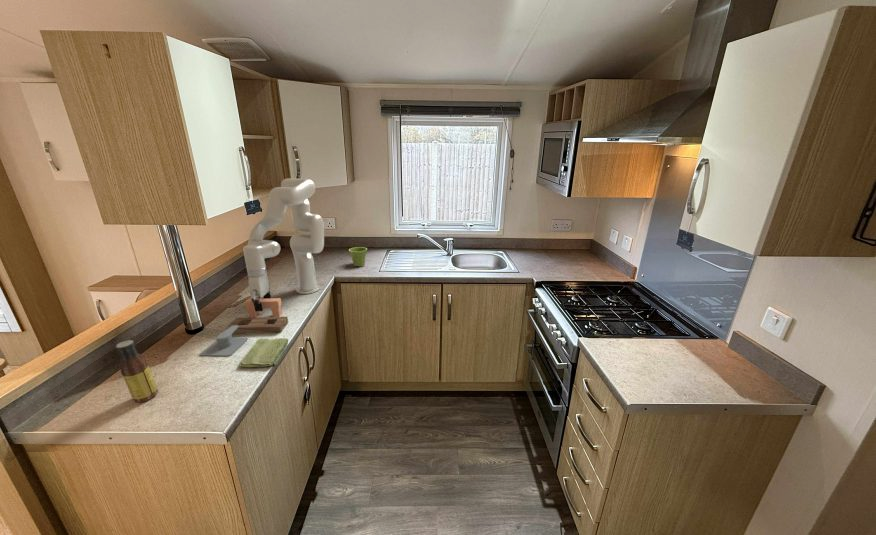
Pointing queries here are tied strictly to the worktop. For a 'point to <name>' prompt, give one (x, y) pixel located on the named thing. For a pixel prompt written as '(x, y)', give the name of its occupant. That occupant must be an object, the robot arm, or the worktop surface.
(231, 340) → the shower valve
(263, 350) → the washcloth
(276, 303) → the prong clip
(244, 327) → the slotted rail
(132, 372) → the sauce bottle
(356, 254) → the plant pot
